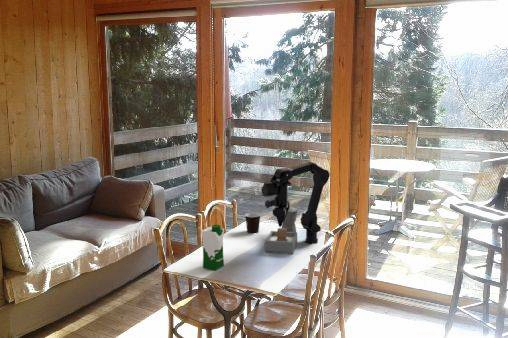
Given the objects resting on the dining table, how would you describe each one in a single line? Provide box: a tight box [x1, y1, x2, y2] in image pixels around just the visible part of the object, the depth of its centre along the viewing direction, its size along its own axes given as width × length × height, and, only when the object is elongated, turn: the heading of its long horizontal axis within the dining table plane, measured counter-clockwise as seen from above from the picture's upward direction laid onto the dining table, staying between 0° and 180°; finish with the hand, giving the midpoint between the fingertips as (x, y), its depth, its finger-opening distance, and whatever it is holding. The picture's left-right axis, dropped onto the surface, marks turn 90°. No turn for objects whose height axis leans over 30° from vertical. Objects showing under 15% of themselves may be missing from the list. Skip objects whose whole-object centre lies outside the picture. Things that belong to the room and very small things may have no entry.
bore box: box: [264, 230, 298, 255], centre depth 244 cm, size 16×14×6 cm
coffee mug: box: [244, 212, 261, 235], centre depth 268 cm, size 12×9×10 cm
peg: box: [276, 227, 286, 241], centre depth 243 cm, size 4×4×9 cm
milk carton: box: [200, 224, 225, 272], centre depth 219 cm, size 9×9×20 cm
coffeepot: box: [281, 206, 298, 233], centre depth 263 cm, size 15×9×18 cm, turn 29°
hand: (281, 223), depth 242 cm, fingers open, 9 cm apart
